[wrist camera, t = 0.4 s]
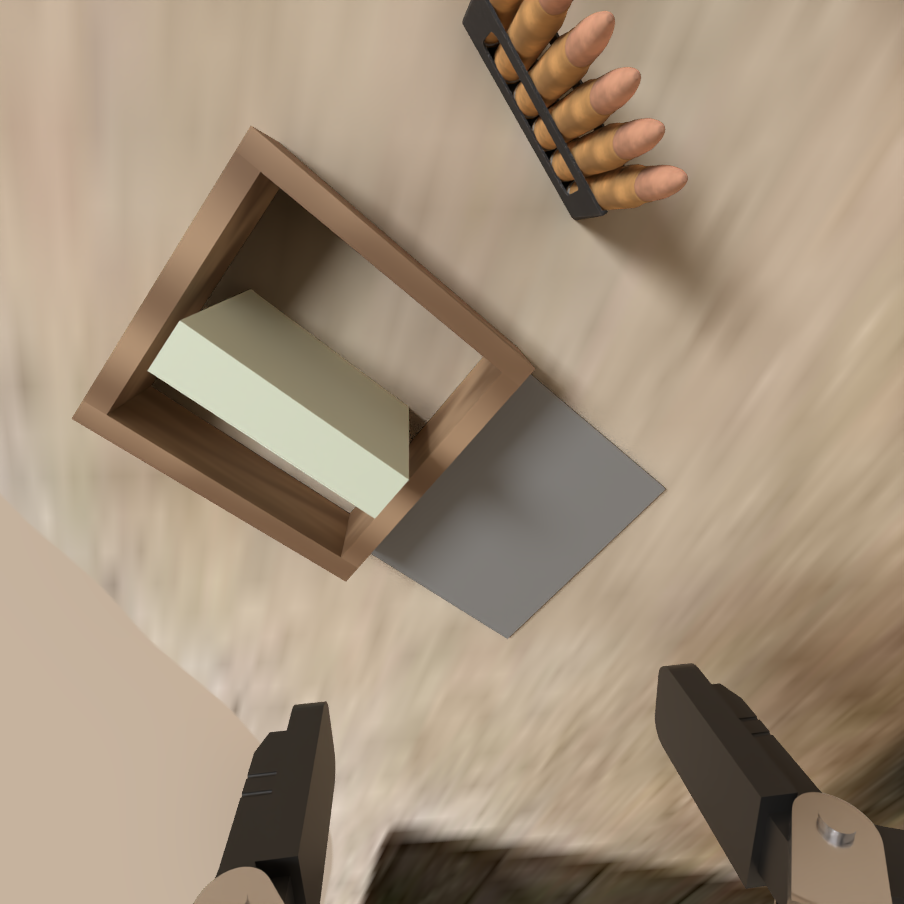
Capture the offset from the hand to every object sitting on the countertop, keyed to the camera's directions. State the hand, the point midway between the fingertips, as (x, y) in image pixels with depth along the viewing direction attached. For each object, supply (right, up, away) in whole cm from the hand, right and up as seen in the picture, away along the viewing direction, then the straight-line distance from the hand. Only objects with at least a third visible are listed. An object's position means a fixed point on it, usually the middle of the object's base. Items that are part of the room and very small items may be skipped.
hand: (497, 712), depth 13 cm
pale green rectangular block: (-9, +11, +19) cm, 23 cm away
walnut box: (-9, +11, +19) cm, 23 cm away
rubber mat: (+3, +2, +24) cm, 24 cm away
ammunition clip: (+3, +23, +15) cm, 28 cm away
